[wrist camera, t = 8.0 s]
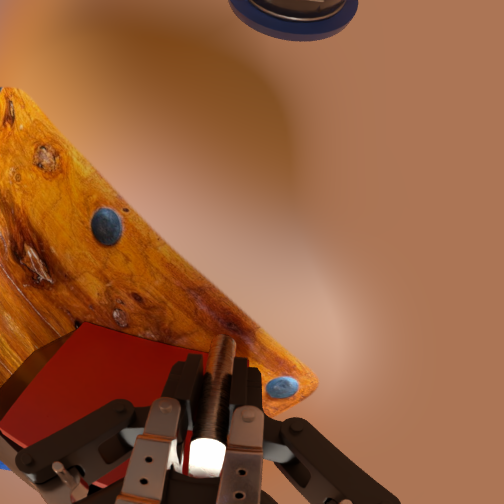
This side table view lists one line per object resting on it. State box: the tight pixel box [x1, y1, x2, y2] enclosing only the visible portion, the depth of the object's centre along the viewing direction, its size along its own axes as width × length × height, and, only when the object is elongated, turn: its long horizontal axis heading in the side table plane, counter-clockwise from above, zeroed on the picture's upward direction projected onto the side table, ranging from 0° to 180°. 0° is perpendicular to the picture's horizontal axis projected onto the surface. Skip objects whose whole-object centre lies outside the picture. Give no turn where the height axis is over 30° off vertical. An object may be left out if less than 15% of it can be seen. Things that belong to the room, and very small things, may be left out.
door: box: [0, 322, 249, 488], centre depth 16 cm, size 7×16×15 cm, turn 79°
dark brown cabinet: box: [0, 329, 103, 496], centre depth 19 cm, size 11×16×15 cm
